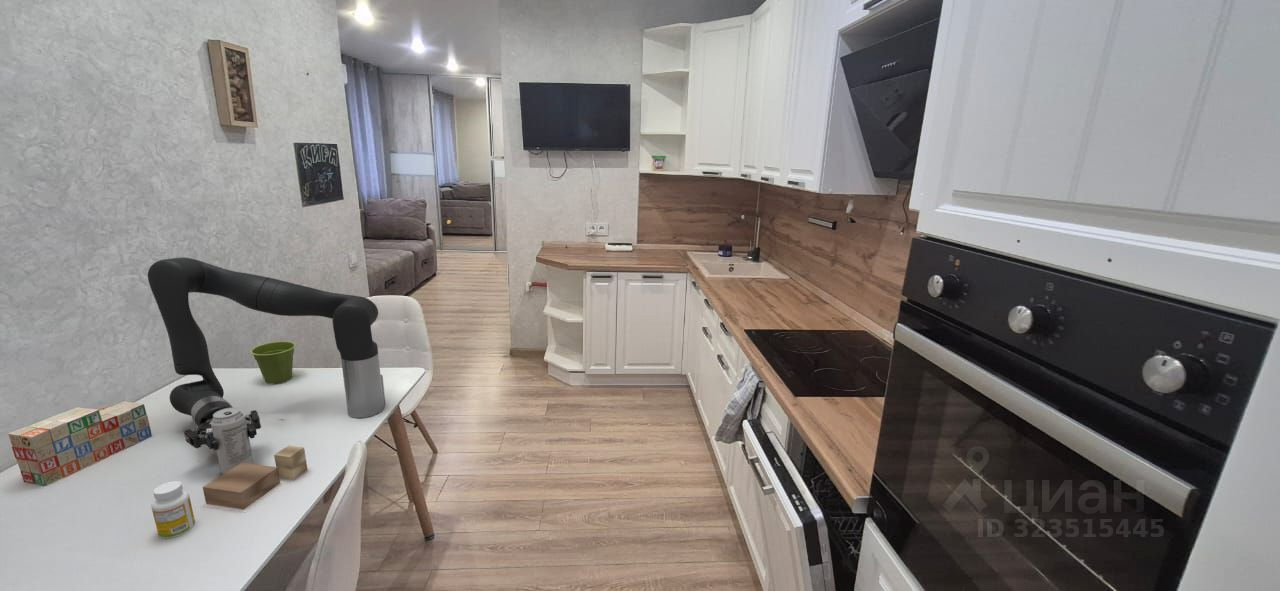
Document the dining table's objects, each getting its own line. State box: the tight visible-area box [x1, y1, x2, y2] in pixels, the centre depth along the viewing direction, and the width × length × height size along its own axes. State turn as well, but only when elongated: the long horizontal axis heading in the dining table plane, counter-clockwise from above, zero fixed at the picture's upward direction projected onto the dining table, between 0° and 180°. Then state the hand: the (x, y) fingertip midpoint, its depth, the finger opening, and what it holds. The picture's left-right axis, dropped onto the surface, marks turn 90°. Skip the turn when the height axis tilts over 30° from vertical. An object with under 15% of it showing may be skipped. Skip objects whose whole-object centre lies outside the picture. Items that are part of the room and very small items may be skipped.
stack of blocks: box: [8, 401, 153, 487], centre depth 119 cm, size 21×6×12 cm, turn 170°
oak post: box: [273, 444, 308, 481], centre depth 116 cm, size 4×4×6 cm
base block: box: [202, 463, 281, 509], centre depth 109 cm, size 9×9×4 cm
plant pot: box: [249, 340, 297, 385], centre depth 163 cm, size 12×12×11 cm
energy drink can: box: [211, 406, 255, 475], centre depth 116 cm, size 6×6×15 cm
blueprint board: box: [202, 480, 287, 513], centre depth 111 cm, size 16×11×1 cm
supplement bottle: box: [151, 480, 196, 539], centre depth 98 cm, size 5×5×10 cm
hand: (234, 440), depth 114 cm, fingers closed on energy drink can, 6 cm apart
